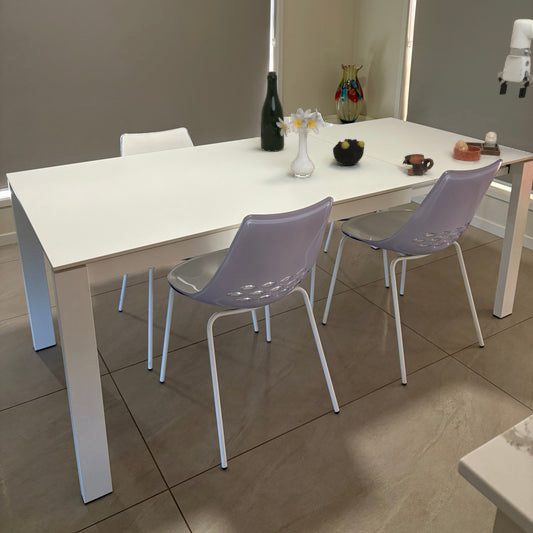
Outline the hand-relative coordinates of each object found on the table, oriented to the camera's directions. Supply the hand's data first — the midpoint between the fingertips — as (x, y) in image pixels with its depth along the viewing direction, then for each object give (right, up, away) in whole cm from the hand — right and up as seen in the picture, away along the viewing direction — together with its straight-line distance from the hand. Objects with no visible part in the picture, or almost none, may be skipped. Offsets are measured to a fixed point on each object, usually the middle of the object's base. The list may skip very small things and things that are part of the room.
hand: (512, 96), depth 245 cm
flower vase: (-89, -37, -21) cm, 98 cm away
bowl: (-20, -27, -1) cm, 33 cm away
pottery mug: (-44, -35, -18) cm, 59 cm away
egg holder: (-10, -22, +9) cm, 25 cm away
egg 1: (-20, -26, -2) cm, 33 cm away
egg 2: (-5, -20, +11) cm, 24 cm away
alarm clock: (-70, -30, -6) cm, 76 cm away
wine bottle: (-100, -19, +18) cm, 103 cm away
